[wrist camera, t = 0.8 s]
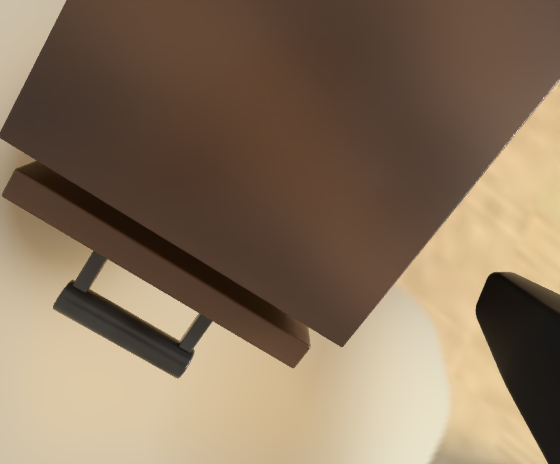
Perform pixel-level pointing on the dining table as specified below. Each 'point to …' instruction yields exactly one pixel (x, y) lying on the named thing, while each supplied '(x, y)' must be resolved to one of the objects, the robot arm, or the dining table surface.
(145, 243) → the drawer
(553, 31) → the cabinet
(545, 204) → the dining table surface
